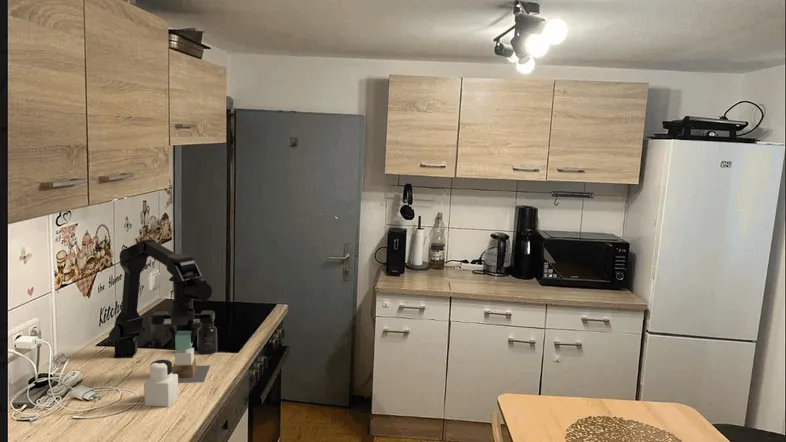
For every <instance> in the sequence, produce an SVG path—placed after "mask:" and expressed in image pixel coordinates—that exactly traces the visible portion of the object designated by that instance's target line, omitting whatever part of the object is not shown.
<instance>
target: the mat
mask: <svg viewBox="0 0 786 442" xmlns="http://www.w3.org/2000/svg"><path fill="white" fill-rule="evenodd" d="M210 367H211V365H196V372H195V374H194V376H193V377H192V378H178V384H186V383H187V384H188V383H189V384H191V383H194V384H195V383H204V382H205V380H206V377H207V375H208V372H209V370H210ZM172 374H173V366H172Z"/></svg>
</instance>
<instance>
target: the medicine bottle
mask: <svg viewBox="0 0 786 442" xmlns="http://www.w3.org/2000/svg"><path fill="white" fill-rule="evenodd" d="M172 367H173V363H172V362H171V361H170V360H168V359H158V360H155V361H153V362H151V363H150V364H149V377H148V379H146V380H145V381H144V382H143V392H144V394H143V395H144V396H143V397H144V407H163V408H164V407H166V408H167V407H168V408H169V407H170V406H171V405H172V404H173V403H174V401H175V400H176V399H177V398H178V397H179V383H178V374H172Z"/></svg>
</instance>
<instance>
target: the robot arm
mask: <svg viewBox="0 0 786 442" xmlns="http://www.w3.org/2000/svg"><path fill="white" fill-rule="evenodd" d="M149 257H151V258H152V259H154V260H155V261H157V262H159V263H161V264H163V265H164V266H165V267H166V271H167V272H168V273H169V274H171V275H172V276H171V277H170V278H169V279H168V280H169V282H173V305H172V309H171V313H170V314H169V312H168V310H165V311H164V310H163V311H160V310H157V311H155V312H154V313H153V314H152V315H151V319H150V324H151V325H153V326H154V325H156V326H157V325H162V327H166V329H168V330H169V332H170V335H171V336H172V339H173V341H174V343H175V335H176V334H177V332H178V329H177V328H178V326H187V325H188V322H189V321H193V322H192V323H191V331H192V333H191V343H194V340H195V337H196V335H197V330H198V328H199V327H201V325H202V324H208V323H213V321H215V318H216V313H215V311H214V310H201V312H200V313H196V312H195V309H194V305H193V303H194V300H195V301H199V302H206V301H208V300H209V299H210V298H211V296H212V294H213V293H212V292H213V289H212V286H211V285H210V284H209V283H207V279H205V278H203V275H202V272H201V270H200V268H199V266H198V265H197V263H196V261H195V259H194V257H193V256H191V255H187V254H182V253H181V254H180V253H176V252H173V251H172V250H171V249H168V248H167V247H165V246H163V245H162V244H160V243H158V242H156V240H155V239H151V238H149V239H143V240H140V241H138V242H137V243H135V244H133V245H130V246H129V247H125V248H123V249H122V250H121V251H120V253H119V265H120V267H121V268H122V271H123V272H124V275H123V286H122V287H123V288H122V299H121V300H122V301H121V310H120V312H119V314H118V315H117V317H115V321H114V326H113V328H112V329H111V330H110V331H109V333H108V335H109V340H110V341H113V343H114V345H113V346H114V355H112V357H123V358H133V357H134V356H135V355H136V354H137V353H138V340H137V339H136V337H140V335H141V331H142V330H141V329H142V328H143V320H144V319H143V317H142V316H141V315H140V314H139V312H138V305H139V304H138V303H139V291H140V283H141V273H142V272H143V270H144V268H145V267H146V266H147V262H148V258H149Z"/></svg>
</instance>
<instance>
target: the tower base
mask: <svg viewBox="0 0 786 442" xmlns="http://www.w3.org/2000/svg"><path fill="white" fill-rule="evenodd" d="M196 366H197V359H196V358H194V360H193V362H192V365H177V366H175V363H174V364H172V367H173V374H178V378H192V377H193V376H194V374H195V372H196Z"/></svg>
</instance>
